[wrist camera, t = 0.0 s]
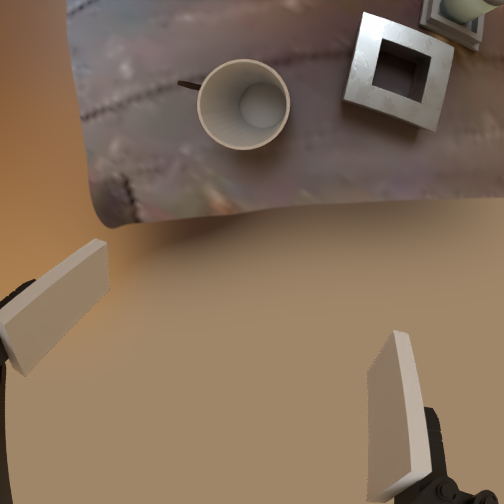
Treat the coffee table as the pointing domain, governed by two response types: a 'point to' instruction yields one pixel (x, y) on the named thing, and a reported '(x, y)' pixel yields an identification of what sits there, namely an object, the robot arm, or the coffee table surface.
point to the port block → (409, 48)
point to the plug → (467, 9)
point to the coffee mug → (242, 104)
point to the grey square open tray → (451, 25)
